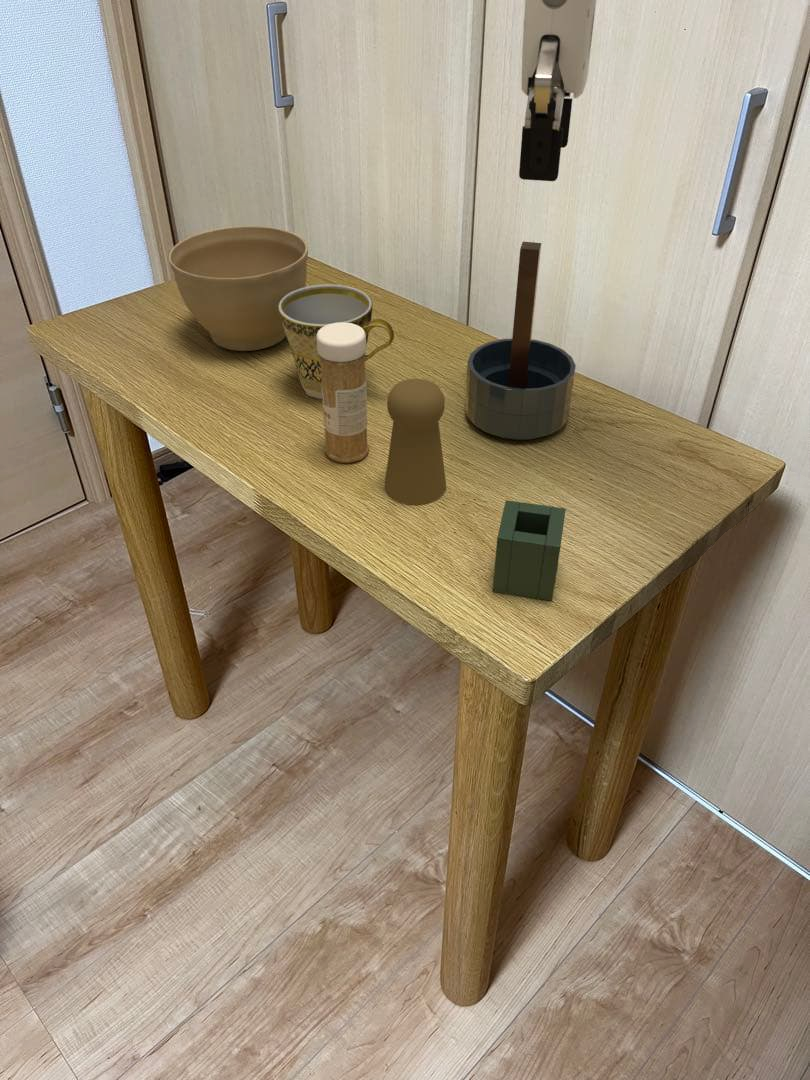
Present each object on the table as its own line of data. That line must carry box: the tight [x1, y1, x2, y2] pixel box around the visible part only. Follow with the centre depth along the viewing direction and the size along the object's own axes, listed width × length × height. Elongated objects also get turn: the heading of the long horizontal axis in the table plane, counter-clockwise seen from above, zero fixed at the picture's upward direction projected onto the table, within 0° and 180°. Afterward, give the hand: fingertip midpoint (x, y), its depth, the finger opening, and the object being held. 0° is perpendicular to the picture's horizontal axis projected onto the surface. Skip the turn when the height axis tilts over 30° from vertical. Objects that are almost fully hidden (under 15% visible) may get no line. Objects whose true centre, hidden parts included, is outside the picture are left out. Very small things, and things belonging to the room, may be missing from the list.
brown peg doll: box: [383, 378, 447, 506], centre depth 79 cm, size 6×6×11 cm
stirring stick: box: [508, 241, 542, 389], centre depth 85 cm, size 2×2×18 cm
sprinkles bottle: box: [317, 322, 370, 464], centre depth 82 cm, size 5×5×14 cm
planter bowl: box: [168, 225, 309, 352], centre depth 103 cm, size 16×16×11 cm
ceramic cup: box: [279, 283, 395, 400], centre depth 93 cm, size 13×10×10 cm
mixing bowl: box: [464, 338, 577, 441], centre depth 90 cm, size 11×11×6 cm
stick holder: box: [491, 499, 566, 602], centre depth 71 cm, size 5×5×6 cm
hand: (544, 161), depth 74 cm, fingers open, 9 cm apart
